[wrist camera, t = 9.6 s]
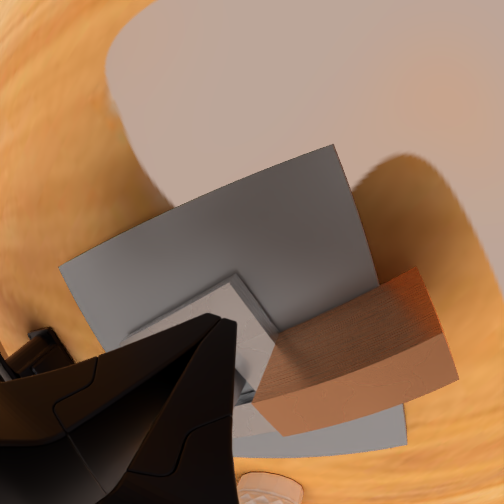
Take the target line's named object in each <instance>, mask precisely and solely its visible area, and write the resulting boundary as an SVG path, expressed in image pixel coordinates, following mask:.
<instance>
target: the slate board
mask: <svg viewBox="0 0 504 504" xmlns="http://www.w3.org/2000/svg"><path fill="white" fill-rule="evenodd" d="M58 268H59V270H60V272H61V274H62V276H63V278H64V280H65V282H66V284H67V286H68V288H69V290H70V292H71V294H72V295H73V297H74V299H75V301H76V303H77V305H78V307H79V308H80V310H81V312H82V314H83V315H84V317H85V319H86V321H87V322H88V324H89V326H90V328H91V329H92V331H93V333H94V334H95V336H96V337H97V339H98V341H99V342H100V344H101V346H102V347H103V349H104V350H105V352H109V351H112V350H114V349H117V348H119V347H121V346H120V344H119V343H120V342H121V341H122V340H123V339H124V338H125V337H126V336H127V335H129V334H131V333H133V332H134V331H136V330H138V329H140V328H141V327H143V326H145V325H147V324H149V323H150V322H152V321H154V320H156V319H157V318H159V317H161V316H163V315H164V314H166V313H168V312H170V311H171V310H173V309H175V308H177V307H178V306H180V305H182V304H184V303H185V302H187V301H189V300H191V299H193V298H194V297H196V296H198V295H200V294H201V293H203V292H205V291H206V290H208V289H210V288H212V287H213V286H215V285H217V284H219V283H220V282H222V281H224V280H226V279H227V278H229V277H231V276H233V275H234V274H237V275H238V276H239V278H240V279H241V281H242V282H243V283H244V285H245V286H246V287H247V289H248V290H249V292H250V293H251V294H252V296H253V297H254V298H255V300H256V301H257V302H258V304H259V305H260V307H261V308H262V309H263V311H264V312H265V313H266V315H267V316H268V317H269V319H270V320H271V321H272V323H273V324H274V326H275V327H276V328H277V330H278V331H279V332H282V331H284V330H287V329H289V328H291V327H294V326H296V325H298V324H300V323H303V322H305V321H307V320H309V319H312V318H314V317H316V316H318V315H320V314H323V313H325V312H327V311H329V310H331V309H333V308H335V307H338V306H340V305H342V304H344V303H346V302H348V301H350V300H352V299H354V298H356V297H358V296H360V295H362V294H364V293H366V292H368V291H370V290H372V289H374V288H376V287H378V286H380V285H379V281H378V277H377V274H376V270H375V266H374V263H373V259H372V256H371V252H370V249H369V245H368V242H367V239H366V235H365V232H364V229H363V226H362V222H361V219H360V216H359V213H358V210H357V207H356V204H355V201H354V198H353V195H352V192H351V190H350V187H349V184H348V181H347V178H346V176H345V173H344V170H343V167H342V165H341V162H340V160H339V157H338V154H337V152H336V149H335V147H334V144H332V145H329V146H326V147H323V148H320V149H318V150H315V151H312V152H309V153H307V154H304V155H301V156H299V157H296V158H293V159H291V160H288V161H285V162H283V163H280V164H278V165H275V166H272V167H270V168H267V169H265V170H263V171H260V172H257V173H255V174H252V175H250V176H248V177H245V178H242V179H240V180H238V181H235V182H233V183H230V184H228V185H226V186H223V187H221V188H219V189H216V190H214V191H212V192H209V193H207V194H205V195H202V196H200V197H198V198H196V199H193V200H191V201H189V202H187V203H184V204H182V205H180V206H178V207H176V208H174V209H171V210H169V211H167V212H165V213H163V214H161V215H158V216H156V217H154V218H152V219H150V220H148V221H146V222H144V223H142V224H140V225H138V226H136V227H134V228H131V229H129V230H127V231H125V232H123V233H121V234H119V235H117V236H115V237H113V238H111V239H110V240H108V241H106V242H104V243H102V244H100V245H98V246H96V247H94V248H92V249H90V250H88V251H86V252H85V253H83V254H81V255H79V256H77V257H75V258H73V259H72V260H70V261H68V262H66V263H64V264H63V265H61V266H59V267H58ZM254 391H255V390H254V389H253V388H252V387H251V385H250V384H249V383H248V382H247V381H246V380H245V379H244V377H243V376H242V375H241V374H240V373H239V372H238V370H237V369H236V368H235V382H234V403H233V409H234V407H235V405H236V403H237V401H238V399H239V397H240V395H244V394H247V393H251V392H254ZM403 445H407V430H406V421H405V413H404V406H403V404H400V405H397V406H394V407H392V408H389V409H386V410H383V411H380V412H377V413H374V414H371V415H368V416H365V417H362V418H358V419H355V420H352V421H348V422H345V423H341V424H337V425H334V426H330V427H326V428H322V429H318V430H313V431H309V432H305V433H300V434H295V435H290V436H285V437H283V436H282V435H281V434H280V433H279V432H278V431H274V432H269V433H263V434H258V435H252V436H246V437H239V438H232V451H233V457H248V458H301V457H319V456H332V455H343V454H352V453H360V452H368V451H375V450H381V449H387V448H393V447H398V446H403Z"/></svg>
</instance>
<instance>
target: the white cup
mask: <svg viewBox="0 0 504 504" xmlns="http://www.w3.org/2000/svg"><path fill="white" fill-rule="evenodd" d="M237 492H238V498H239V504H301V502H302V498H303V493H304V491H303V489H302V486H301V485H299V484H298V483H297V482H295V481H293V480H292V479H289V478H286V477H283V476H280V475H276V474H271V473H265V472H250V473H247V474H244V475H242V477H241V479H240V481H239V483H238V485H237Z"/></svg>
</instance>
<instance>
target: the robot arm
mask: <svg viewBox="0 0 504 504" xmlns="http://www.w3.org/2000/svg"><path fill="white" fill-rule="evenodd" d="M28 337H29V338H30V341H29V342H27V343H26V344H25V345H23V346H22V347H21V348H20V349H18V350H17V351H16V352H15V353H13V354H12V355H11V356H10V357H8V358H7V359H6V360H4V358H3V357H2V355H1V354H0V504H239V498H238V492H237V485H236V478H235V472H234V462H233V451H232V428H233V418H232V417H233V403H234V382H235V362H236V343H237V322H236V321H234V320H230V319H227V318H221V316H218V315H215V314H212V313H204V314H202V315H199V316H197V317H195V318H192V319H190V320H187V321H185V322H182V323H180V324H178V325H175V326H173V327H170V328H168V329H165V330H163V331H160V332H158V333H155V334H153V335H150V336H148V337H145V338H143V339H140V340H138V341H135V342H132V343H130V344H127V345H125V346H122V347H119V348H117V349H114V350H112V351H109V352H106V353H104V354H101V355H99V356H98V357H93V358H90V359H87V360H85V361H82V362H79V363H76V364H73V362H72V361H71V359H70V358H69V356H68V355H67V353H66V352H65V350H64V349H63V347H62V345H61V344H60V342H59V341H58V339H57V337H56V336H55V334H54V332H53V331H52V329H51V328H49V327H47V328H43V329H39V330H34V331H30V332H29V333H28Z"/></svg>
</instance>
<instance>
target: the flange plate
mask: <svg viewBox="0 0 504 504" xmlns="http://www.w3.org/2000/svg"><path fill="white" fill-rule="evenodd" d="M204 313H212V314H215V315H218V316H221V318H227V319H230V320H234V321H236V322H237V343H236V362H235V368H236V369H237V370H238V372H239V373H240V374H241V375H242V376H243V377H244V379H245V380H246V381H247V382H248V383H249V384H250V385H251V387H252V388H253V389H254V390H255V391H254V392H251V393H247V394H244V395H240V397H239V399H238V401H237V403H236V405H235V407H234V409H233V417H232V418H233V428H232V438H239V437H246V436H252V435H258V434H263V433H269V432H274V431H278V432H279V433H280V434H281V435H282V436H283V437H285V436H290V435H295V434H300V433H305V432H309V431H313V430H318V429H322V428H326V427H330V426H334V425H337V424H341V423H345V422H348V421H352V420H355V419H358V418H362V417H365V416H368V415H371V414H374V413H377V412H380V411H383V410H386V409H389V408H392V407H394V406H397V405H400V404H403V403H405V402H408V401H410V400H413V399H416V398H418V397H421V396H423V395H425V394H428V393H430V392H432V391H435V390H437V389H439V388H442V387H444V386H446V385H448V384H450V383H453V382H455V381H457V380H459V377H458V373H457V370H456V367H455V364H454V361H453V357H452V354H451V351H450V348H449V345H448V342H447V340H446V337H445V334H444V331H443V328H442V326H441V323H440V320H439V318H438V315H437V313H436V310H435V307H434V305H433V303H432V300H431V298H430V296H429V293H428V291H427V289H426V286H425V284H424V282H423V280H422V278H421V275H420V273H419V271H418V269H417V267H414V268H412V269H410V270H409V271H407V272H405V273H403V274H401V275H399V276H397V277H395V278H394V279H392V280H390V281H388V282H386V283H384V284H382V285H380V286H378V287H376V288H374V289H372V290H370V291H368V292H366V293H364V294H362V295H360V296H358V297H356V298H354V299H352V300H350V301H348V302H346V303H344V304H342V305H340V306H338V307H335V308H333V309H331V310H329V311H327V312H325V313H323V314H320V315H318V316H316V317H314V318H312V319H309V320H307V321H305V322H303V323H300V324H298V325H296V326H294V327H291V328H289V329H287V330H284V331H282V332H279V331H278V330H277V328H276V327H275V326H274V324H273V323H272V321H271V320H270V319H269V317H268V316H267V315H266V313H265V312H264V311H263V309H262V308H261V307H260V305H259V304H258V302H257V301H256V300H255V298H254V297H253V296H252V294H251V293H250V292H249V290H248V289H247V287H246V286H245V285H244V283H243V282H242V281H241V279H240V278H239V276H238V275H237V274H234V275H233V276H231V277H229V278H227V279H226V280H224V281H222V282H220V283H219V284H217V285H215V286H213V287H212V288H210V289H208V290H206V291H205V292H203V293H201V294H200V295H198V296H196V297H194V298H193V299H191V300H189V301H187V302H185V303H184V304H182V305H180V306H178V307H177V308H175V309H173V310H171V311H170V312H168V313H166V314H164V315H163V316H161V317H159V318H157V319H156V320H154V321H152V322H150V323H149V324H147V325H145V326H143V327H141V328H140V329H138V330H136V331H134V332H133V333H131V334H129V335H127V336H126V337H125V338H124V339H123V340H122V341H121V342H120V343H119V344H120V346H121V347H122V346H125V345H127V344H130V343H132V342H135V341H138V340H140V339H143V338H145V337H148V336H150V335H153V334H155V333H158V332H160V331H163V330H165V329H168V328H170V327H173V326H175V325H178V324H180V323H182V322H185V321H187V320H190V319H192V318H195V317H197V316H199V315H202V314H204Z"/></svg>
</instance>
